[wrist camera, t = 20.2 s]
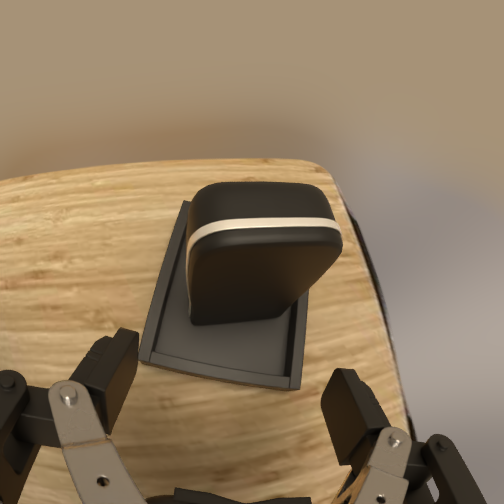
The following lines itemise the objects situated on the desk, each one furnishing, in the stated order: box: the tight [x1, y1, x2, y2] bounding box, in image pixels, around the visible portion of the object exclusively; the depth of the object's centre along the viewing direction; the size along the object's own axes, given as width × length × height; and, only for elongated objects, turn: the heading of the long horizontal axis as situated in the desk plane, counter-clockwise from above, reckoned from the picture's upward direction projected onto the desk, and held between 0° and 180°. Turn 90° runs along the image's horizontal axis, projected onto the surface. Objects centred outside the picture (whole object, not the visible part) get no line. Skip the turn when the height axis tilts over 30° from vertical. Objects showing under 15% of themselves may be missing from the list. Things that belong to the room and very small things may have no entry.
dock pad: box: [138, 200, 309, 391], centre depth 21 cm, size 11×13×2 cm
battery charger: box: [186, 182, 343, 325], centre depth 17 cm, size 7×4×11 cm, turn 99°
